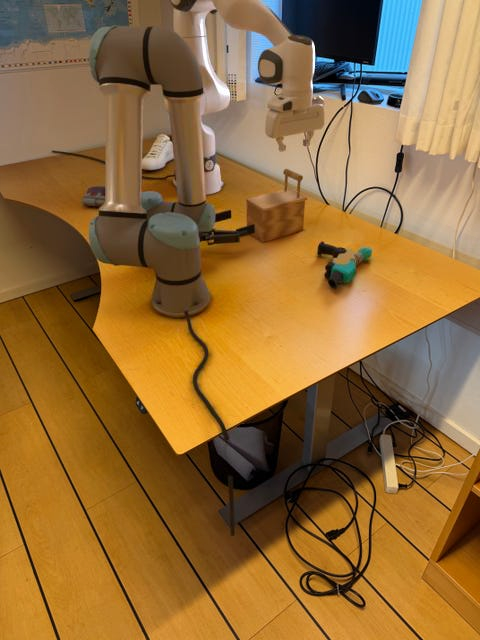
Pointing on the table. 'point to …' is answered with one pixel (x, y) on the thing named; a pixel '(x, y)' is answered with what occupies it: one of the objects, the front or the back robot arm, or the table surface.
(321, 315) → the table surface
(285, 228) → the chest
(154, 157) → the sneaker
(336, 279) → the toy gun
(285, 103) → the back robot arm
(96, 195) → the toy gun
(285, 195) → the lid
